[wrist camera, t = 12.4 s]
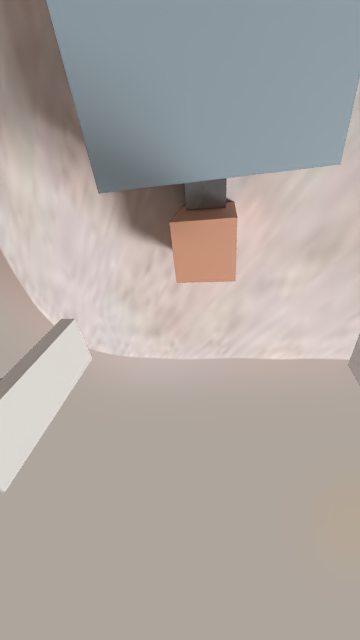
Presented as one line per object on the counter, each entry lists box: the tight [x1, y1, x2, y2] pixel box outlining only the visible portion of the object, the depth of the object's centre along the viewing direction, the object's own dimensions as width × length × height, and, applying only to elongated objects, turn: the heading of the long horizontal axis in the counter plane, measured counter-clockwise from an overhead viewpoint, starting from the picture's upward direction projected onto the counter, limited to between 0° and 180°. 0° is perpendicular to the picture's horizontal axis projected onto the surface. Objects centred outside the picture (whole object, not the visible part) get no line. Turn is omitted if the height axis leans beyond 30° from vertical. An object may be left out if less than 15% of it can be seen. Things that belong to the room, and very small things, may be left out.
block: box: [169, 202, 237, 283], centre depth 22 cm, size 5×5×7 cm
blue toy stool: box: [46, 0, 360, 193], centre depth 14 cm, size 11×13×10 cm
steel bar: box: [184, 178, 226, 210], centre depth 17 cm, size 18×4×3 cm, turn 5°
